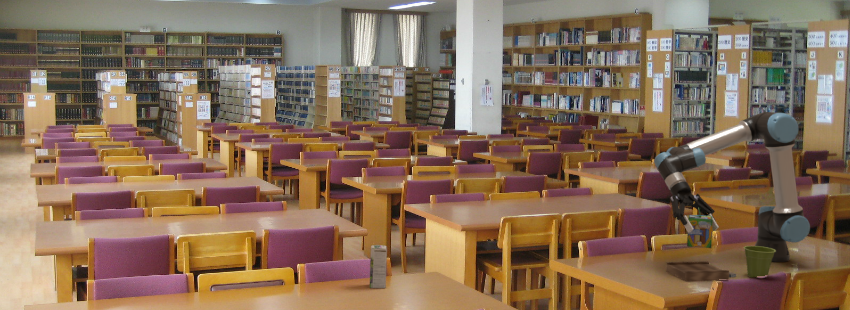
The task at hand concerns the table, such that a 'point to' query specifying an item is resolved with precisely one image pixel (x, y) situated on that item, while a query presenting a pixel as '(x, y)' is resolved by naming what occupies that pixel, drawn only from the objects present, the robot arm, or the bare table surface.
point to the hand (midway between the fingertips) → (703, 230)
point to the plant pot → (758, 260)
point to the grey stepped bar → (732, 274)
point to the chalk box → (700, 231)
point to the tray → (696, 271)
